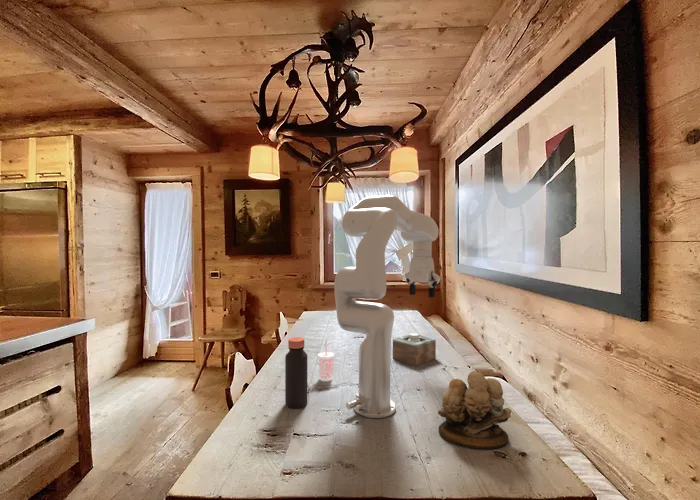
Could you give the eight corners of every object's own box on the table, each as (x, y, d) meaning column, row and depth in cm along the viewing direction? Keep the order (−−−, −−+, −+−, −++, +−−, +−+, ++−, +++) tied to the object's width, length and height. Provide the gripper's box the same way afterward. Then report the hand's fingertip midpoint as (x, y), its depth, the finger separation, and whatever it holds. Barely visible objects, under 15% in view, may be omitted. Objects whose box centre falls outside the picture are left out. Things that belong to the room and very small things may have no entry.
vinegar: (311, 400, 103) (311, 337, 103) (300, 410, 97) (300, 343, 97) (292, 397, 106) (292, 335, 105) (281, 406, 99) (280, 341, 99)
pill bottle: (419, 354, 144) (419, 332, 144) (421, 358, 139) (421, 336, 139) (407, 354, 145) (406, 332, 144) (408, 358, 139) (408, 336, 139)
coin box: (414, 366, 133) (414, 345, 133) (392, 358, 142) (392, 338, 142) (435, 358, 142) (435, 339, 142) (413, 351, 151) (414, 333, 151)
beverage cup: (314, 379, 119) (314, 341, 119) (324, 374, 125) (323, 337, 124) (328, 383, 116) (328, 344, 116) (337, 377, 122) (337, 339, 121)
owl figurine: (502, 426, 89) (504, 363, 89) (520, 453, 78) (521, 382, 77) (435, 421, 91) (436, 360, 91) (442, 447, 80) (443, 378, 79)
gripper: (400, 254, 139) (399, 294, 139) (434, 254, 126) (433, 299, 126) (411, 254, 144) (411, 293, 144) (445, 254, 131) (445, 297, 131)
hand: (421, 295), depth 135 cm, fingers open, 9 cm apart
